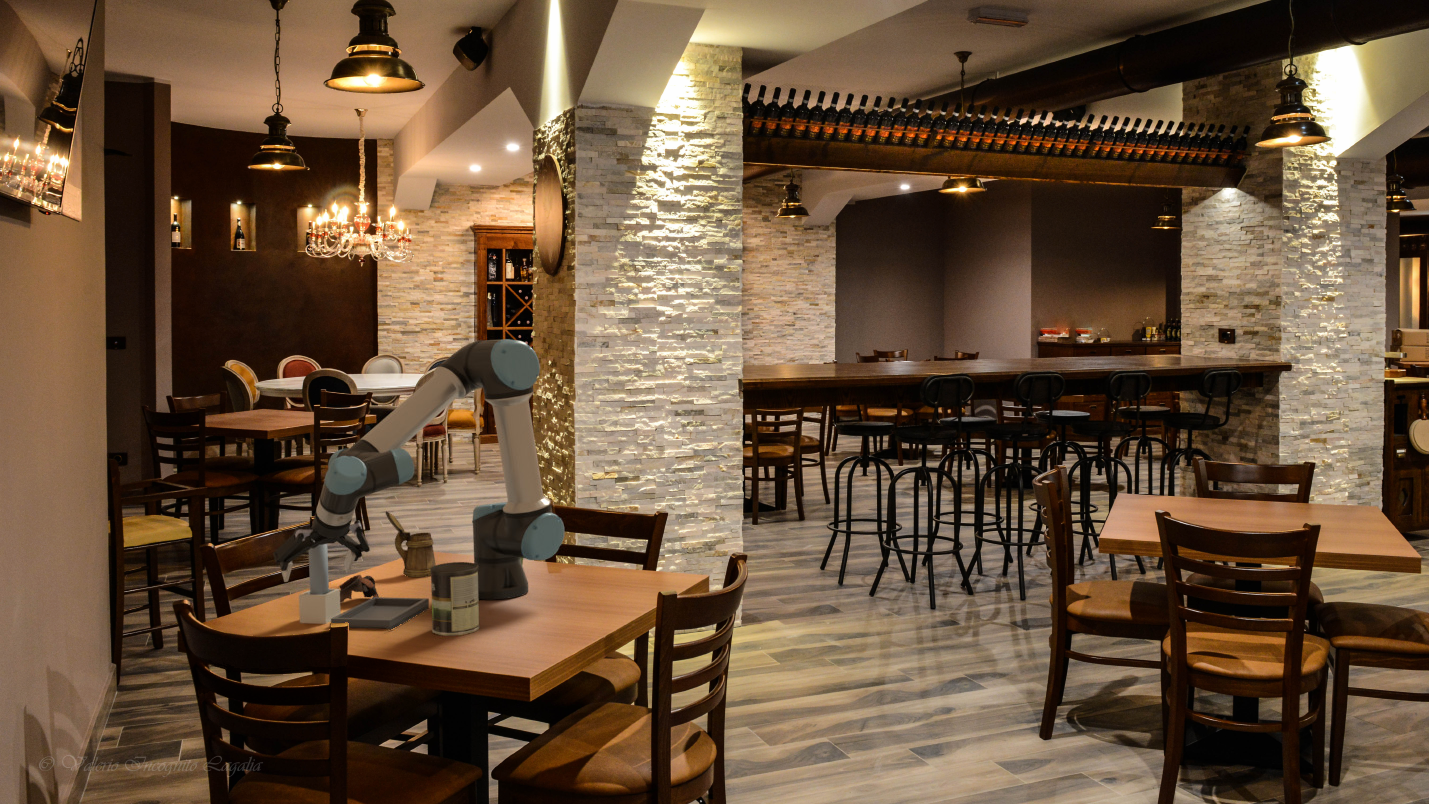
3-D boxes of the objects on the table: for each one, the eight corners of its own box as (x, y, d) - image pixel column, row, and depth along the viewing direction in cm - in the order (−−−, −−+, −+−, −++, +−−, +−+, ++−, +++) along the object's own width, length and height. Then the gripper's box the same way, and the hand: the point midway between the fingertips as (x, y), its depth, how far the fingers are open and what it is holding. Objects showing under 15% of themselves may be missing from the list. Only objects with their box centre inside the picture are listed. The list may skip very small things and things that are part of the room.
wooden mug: (389, 572, 288) (387, 508, 287) (439, 570, 290) (437, 506, 289) (384, 579, 279) (382, 513, 278) (436, 576, 281) (434, 511, 280)
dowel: (333, 617, 237) (330, 540, 236) (323, 621, 233) (321, 543, 232) (317, 616, 237) (314, 539, 236) (307, 621, 233) (304, 543, 232)
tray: (429, 608, 246) (428, 598, 246) (390, 631, 226) (390, 620, 226) (374, 607, 248) (373, 597, 248) (331, 629, 228) (330, 618, 228)
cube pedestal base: (340, 618, 238) (339, 588, 237) (326, 626, 231) (325, 595, 231) (315, 618, 239) (314, 588, 238) (299, 625, 232) (298, 594, 232)
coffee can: (427, 636, 221) (425, 572, 221) (437, 624, 232) (435, 562, 231) (476, 635, 222) (474, 570, 221) (483, 622, 232) (481, 561, 232)
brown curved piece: (375, 611, 247) (356, 583, 245) (343, 626, 248) (324, 599, 246) (392, 587, 258) (374, 560, 256) (362, 602, 260) (343, 576, 258)
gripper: (276, 534, 210) (261, 594, 222) (396, 521, 225) (375, 578, 237) (269, 506, 214) (254, 566, 226) (387, 495, 229) (367, 552, 241)
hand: (316, 572), depth 232 cm, fingers open, 13 cm apart
